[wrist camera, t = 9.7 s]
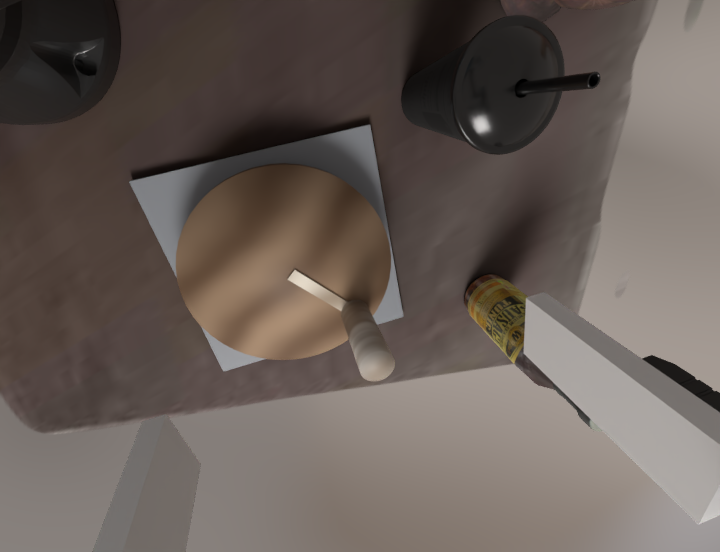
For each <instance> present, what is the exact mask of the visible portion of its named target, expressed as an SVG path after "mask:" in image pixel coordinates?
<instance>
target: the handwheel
mask: <svg viewBox="0 0 720 552" xmlns="http://www.w3.org/2000/svg"><path fill="white" fill-rule="evenodd" d="M390 271H391V252H390V245H389V241H388V237H387V233H386V230H385V228H384V226H383V224H382V221H381V219H380V218H379V216H378V214H377V213H376V211H375V210H374V208H373V207H372V206H371V205H370V203H369V202H368V201H367V200H366V199H365V198H364V197H363V196H362V195H361V194H360V193H359V192H358V191H357V190H356V189H355V188H353V187H352V186H351V185H349V184H348V183H346V182H345V181H344V180H342V179H341V178H339V177H337V176H335V175H333V174H331V173H329V172H326V171H323V170H321V169H318V168H315V167H310V166H306V165H301V164H289V163H279V164H267V165H262V166H257V167H253V168H250V169H247V170H244V171H242V172H239V173H237V174H235V175H233V176H231V177H229V178H227V179H225V180H224V181H222V182H221V183H220V184H218V185H217V186H215V187H214V188H213V189H212V190H211V191H210V192H209V193H208V194H207V195H206V196H204V197H203V198H202V200H201V201H200V202H199V203H198V204H197V206H196V207H195V208H194V210H193V211H192V212H191V214H190V215H189V217H188V219H187V221H186V223H185V225H184V226H183V229H182V232H181V235H180V238H179V241H178V246H177V251H176V275H177V282H178V285H179V289H180V292H181V295H182V297H183V300H184V302H185V304H186V306H187V308H188V309H189V311H190V312H191V314H192V316H193V317H194V318H195V319H196V321H197V322H198V323H199V324H200V325H201V327H202V328H204V329H205V330H206V331H207V332H208V333H209V334H210V335H211V336H213V337H214V338H215V339H217V340H218V341H220V342H221V343H223V344H224V345H226V346H228V347H230V348H232V349H234V350H236V351H239V352H242V353H244V354H247V355H251V356H255V357H258V358H265V359H274V360H290V359H300V358H306V357H310V356H314V355H317V354H321V353H323V352H326V351H328V350H331V349H333V348H335V347H337V346H339V345H341V344H342V343H344V342H345V341H347V340H348V339H349V341H350V344H351V347H352V350H353V353H354V356H355V359H356V362H357V365H358V367H359V370H360V373H361V375H362V377H363V378H365V379H366V380H369V381H379V380H382V379H385V378H386V377H388V376H389V375H390V374H391V373H392V371H393V370H394V367H395V360H394V358H393V356H392V354H391V352H390V350H389V348H388V346H387V344H386V342H385V340H384V338H383V336H382V334H381V332H380V330H379V328H378V326H377V324H376V322H375V320H374V318H373V315H374V313H375V312H376V311H377V309H378V307H379V305H380V304H381V302H382V300H383V297H384V295H385V292H386V290H387V286H388V282H389V278H390Z"/></svg>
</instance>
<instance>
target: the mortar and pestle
mask: <svg viewBox="0 0 720 552" xmlns="http://www.w3.org/2000/svg"><path fill="white" fill-rule="evenodd" d="M500 1H501V6H502V7H503V9H504V11H505V13H506V14H507V16H512V15H524V16H529V17H532V18H535V19H537V20H539V21H541V22H543V21H546V20H547V19H548V18H550V17H551V16H553V15H554V14H555V13H556V12H558V11H559V10H560V8H561V7H566V8H568V9H581V10H597V9H604V8H611V7H615V6H619V5H623V4H626V3H628V2H630V1H633V0H500Z"/></svg>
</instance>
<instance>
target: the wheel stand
mask: <svg viewBox="0 0 720 552" xmlns="http://www.w3.org/2000/svg"><path fill="white" fill-rule="evenodd" d="M279 163H289V164H301V165H306V166H310V167H315V168H318V169H321V170H323V171H326V172H329V173H331V174H333V175H335V176H337V177H339V178H341V179H342V180H344V181H345V182H346V183H348V184H349V185H351V186H352V187H353V188H355V189H356V190H357V191H358V192H359V193H360V194H361V195H362V196H363V197H364V198H365V199H366V200H367V201H368V202H369V203H370V205H371V206H372V207H373V208H374V210H375V211H376V213H377V214H378V216H379V218H380V219H381V221H382V224H383V226H384V228H385V230H386V233H387V237H388V241H389V245H390V252H391V271H390V278H389V282H388V286H387V290H386V292H385V295H384V297H383V300H382V302H381V304H380V305H379V307H378V309H377V311H376V312H375V313H374V315H373V318H374V320H375V322H376V324H377V325H378V324H381V323H384V322H388V321H391V320H394V319H397V318H401V317H403V311H402V305H401V300H400V294H399V288H398V282H397V277H396V271H395V265H394V259H393V253H392V248H391V242H390V236H389V230H388V225H387V219H386V213H385V207H384V201H383V196H382V190H381V184H380V178H379V173H378V167H377V161H376V155H375V149H374V144H373V138H372V132H371V126H370V125H369V124H368V125H364V126H359V127H355V128H351V129H347V130H342V131H338V132H334V133H330V134H325V135H321V136H317V137H313V138H309V139H304V140H300V141H296V142H292V143H287V144H283V145H279V146H275V147H271V148H266V149H262V150H258V151H254V152H249V153H245V154H241V155H237V156H232V157H228V158H224V159H220V160H216V161H211V162H207V163H203V164H199V165H194V166H190V167H186V168H182V169H177V170H173V171H169V172H165V173H161V174H156V175H152V176H148V177H144V178H139V179H135V180H132V181H129V182H130V184H131V186H132V188H133V190H134V192H135V195H136V197H137V199H138V201H139V203H140V205H141V207H142V209H143V211H144V213H145V215H146V217H147V219H148V221H149V223H150V225H151V227H152V229H153V231H154V233H155V235H156V237H157V239H158V241H159V243H160V245H161V247H162V249H163V251H164V253H165V255H166V257H167V259H168V261H169V263H170V265H171V267H172V269H173V271H174V273H175V275H176V251H177V246H178V241H179V238H180V235H181V232H182V229H183V226H184V225H185V223H186V221H187V219H188V217H189V215H190V214H191V212H192V211H193V210H194V208H195V207H196V206H197V204H198V203H199V202H200V201H201V200H202V198H203V197H204V196H206V195H207V194H208V193H209V192H210V191H211V190H212V189H213V188H214V187H215V186H217V185H218V184H220V183H221V182H222V181H224V180H225V179H227V178H229V177H231V176H233V175H235V174H237V173H239V172H242V171H244V170H247V169H250V168H253V167H257V166H262V165H267V164H279ZM176 277H177V275H176ZM202 329H203V331H204V333H205V335H206V337H207V339H208V341H209V343H210V345H211V348H212V350H213V352H214V354H215V356H216V358H217V360H218V362H219V364H220V366H221V368H222V370H223V372H224V371H227V370H230V369H234V368H237V367H240V366H244V365H247V364H250V363H253V362H257V361H260V360H263V359H265V358H258V357H255V356H251V355H247V354H244V353H242V352H239V351H236V350H234V349H232V348H230V347H228V346H226V345H224V344H223V343H221V342H220V341H218V340H217V339H215V338H214V337H213V336H211V335H210V334H209V333H208V332H207V331H206V330H205V329H204V328H202Z"/></svg>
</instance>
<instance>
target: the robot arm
mask: <svg viewBox="0 0 720 552" xmlns="http://www.w3.org/2000/svg"><path fill="white" fill-rule="evenodd" d="M119 58H120V29H119V22H118V17H117V13H116V9H115V6H114V2H113V0H0V123H6V124H17V125H34V124H52V123H58V122H63V121H67V120H70V119H72V118H75V117H77V116H79V115H81V114H83V113H85V112H87V111H88V110H89V109H91V108H92V107H93V106H95V105H96V104H97V103H98V102H99V101H100V100H101V99H102V98H103V96H104V95H105V94H106V92H107V91H108V89H109V88H110V86H111V84H112V82H113V80H114V77H115V75H116V71H117V68H118V64H119ZM524 354H525V355H526V356H527V357H528V358H529V359H530V360H531V361H532V362H533V363H534V364H535V365H536V366H537V367H538V368H539V369H540V370H541V371H542V372H543V373H544V374H545V375H546V376H547V377H548V378H549V379H550V380H551V381H552V382H553V383H554V384H555V385H556V386H557V387H558V388H559V389H560V390H561V391H562V392H564V393H565V394H566V395H567V396H568V397H569V398H570V399H571V400H572V401H573V402H574V403H575V404H576V405H577V406H578V407H579V408H580V409H581V410H582V411H583V412H584V413H585V414H586V415H587V416H588V417H589V418H590V419H591V420H592V421H593V422H594V423H595V424H596V425H597V426H598V427H599V428H600V429H601V430H602V431H603V432H604V433H606V435H607V436H608V437H609V438H611V440H612V441H613V442H615V443H616V444H617V445H618V446H619V447H620V448H621V449H622V450H623V451H624V452H625V453H626V454H627V455H628V456H629V457H630V458H631V459H632V460H633V461H634V462H635V463H636V464H637V465H638V466H639V467H640V468H641V469H642V470H643V471H644V472H645V473H646V474H647V475H648V476H649V477H650V478H651V479H652V480H653V481H654V482H655V483H656V484H657V485H658V486H659V487H661V489H663V490H664V491H665V492H666V493H667V494H668V495H669V496H670V497H671V498H672V499H673V500H674V501H675V502H676V503H677V504H678V505H679V506H680V507H681V508H682V509H683V510H684V511H685V512H686V513H687V514H688V515H689V516H690V517H691V518H692V519H693V520H694V521H695V522H696V523H697V524H701V523H703V522H706V521H708V520H710V519H712V518H715V517H717V516H719V515H720V393H719V392H717V391H713V390H712V388H711V387H709V386H708V385H706V384H705V383H703V382H701V381H700V380H696V379H695V377H694V376H692V375H691V374H689V373H688V372H686V371H685V370H683V369H681V368H680V367H678V366H677V365H675V364H673V363H671V362H668V361H665V360H663V359H660V358H658V357H655V356H653V355H651V356H648V357H645V358H643V359H641V358H640V357H638V356H637V355H635V354H634V353H633V352H631V351H630V350H628V349H627V348H625V347H624V346H622V345H621V344H619V343H618V342H617V341H615V340H613V339H612V338H611V337H609V336H608V335H606V334H605V333H603V332H602V331H601V330H599V329H598V328H596V327H595V326H593V325H592V324H590V323H589V322H587V321H586V320H585V319H583V318H581V317H580V316H579V315H577V314H576V313H574V312H573V311H571V310H570V309H569V308H567V307H566V306H564V305H563V304H561V303H560V302H558V301H557V300H555V299H554V298H553V297H551V296H550V295H548V294H547V293H545V292H543V293H539V294H536V295H533V296H530V297H527V298H526V309H525V332H524ZM200 467H201V463H200V462H199V461H198V459H197V458H196V456H195V455H194V453H193V452H192V451H191V449H190V448H189V446H188V445H187V443H186V442H185V441H184V439H183V438H182V436H181V435H180V433H179V432H178V430H177V429H176V428H175V426H174V425H173V423H172V422H171V420H170V419H169V417H168V416H167V415H166V414H164V415H161V416H158V417H155V418H152V419H149V420H146V421H143V422H142V423H141V426H140V428H139V431H138V434H137V436H136V439H135V441H134V444H133V447H132V449H131V452H130V455H129V457H128V460H127V462H126V465H125V468H124V470H123V473H122V475H121V478H120V481H119V483H118V486H117V489H116V491H115V494H114V497H113V499H112V502H111V504H110V507H109V509H108V512H107V515H106V517H105V520H104V523H103V525H102V528H101V530H100V533H99V536H98V538H97V541H96V544H95V546H94V549H93V551H92V552H186V545H187V540H188V535H189V529H190V523H191V518H192V512H193V506H194V500H195V495H196V489H197V484H198V478H199V472H200Z"/></svg>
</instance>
